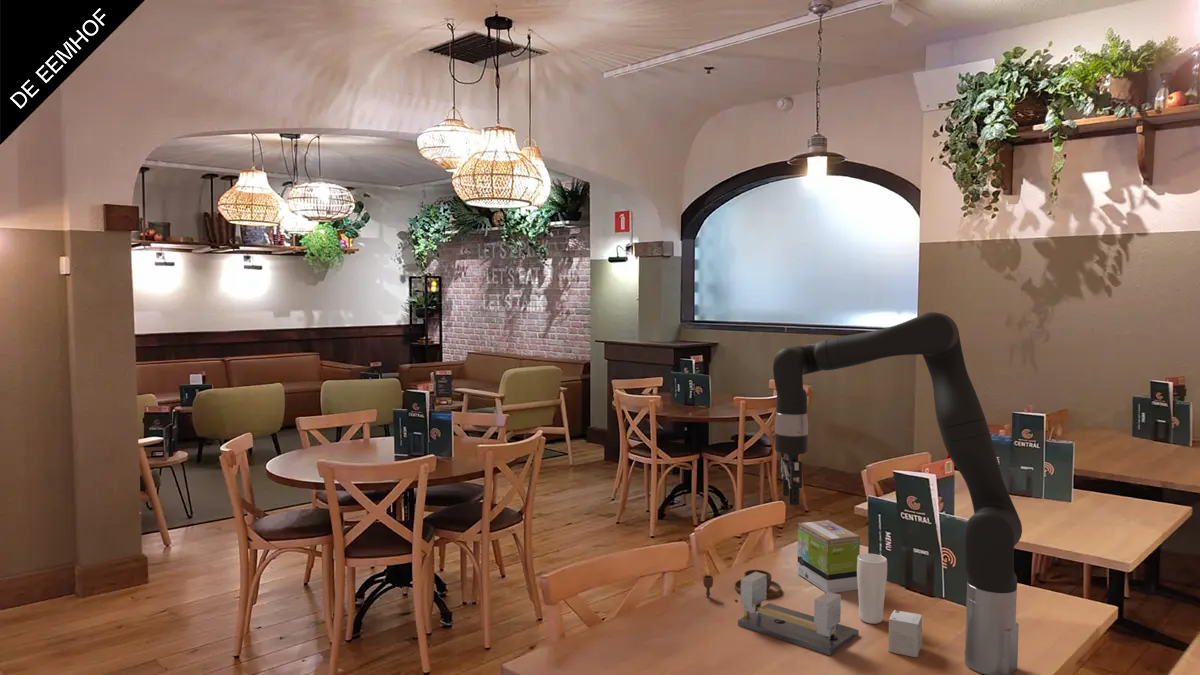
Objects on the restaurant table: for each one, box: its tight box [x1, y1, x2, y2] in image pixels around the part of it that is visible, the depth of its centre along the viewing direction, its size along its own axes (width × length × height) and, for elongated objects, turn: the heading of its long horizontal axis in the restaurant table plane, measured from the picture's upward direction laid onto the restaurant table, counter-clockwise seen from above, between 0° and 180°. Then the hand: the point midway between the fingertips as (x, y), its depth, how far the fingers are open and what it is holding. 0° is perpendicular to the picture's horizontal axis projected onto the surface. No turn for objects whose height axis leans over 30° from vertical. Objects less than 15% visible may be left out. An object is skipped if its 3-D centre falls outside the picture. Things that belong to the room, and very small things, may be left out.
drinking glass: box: [857, 553, 888, 625], centre depth 187 cm, size 7×7×15 cm
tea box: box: [797, 519, 861, 594], centre depth 212 cm, size 15×10×15 cm, turn 17°
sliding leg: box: [740, 572, 768, 614], centre depth 185 cm, size 3×6×10 cm, turn 138°
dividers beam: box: [743, 592, 842, 639], centre depth 179 cm, size 22×6×10 cm, turn 48°
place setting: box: [702, 569, 782, 603], centre depth 207 cm, size 18×20×6 cm
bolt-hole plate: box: [737, 602, 860, 657], centre depth 182 cm, size 23×14×1 cm, turn 48°
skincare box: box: [887, 609, 923, 658], centre depth 172 cm, size 6×6×7 cm
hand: (790, 500), depth 187 cm, fingers open, 8 cm apart
